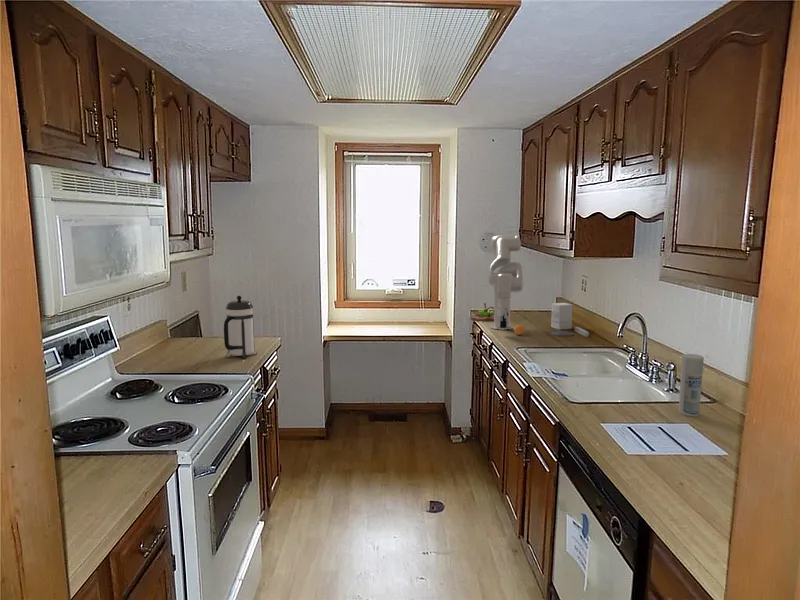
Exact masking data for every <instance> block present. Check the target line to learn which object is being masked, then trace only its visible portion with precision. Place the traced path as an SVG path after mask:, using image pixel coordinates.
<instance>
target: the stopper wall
mask: <svg viewBox="0 0 800 600" xmlns="http://www.w3.org/2000/svg"><path fill="white" fill-rule="evenodd" d="M574 332H576V333H578V334H580V335H582V336H583V337H585V338H586V337H589V335H590V334H589V331H587V330H586V329H583V328H581V327H579V326H574Z"/></svg>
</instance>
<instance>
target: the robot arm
mask: <svg viewBox="0 0 800 600" xmlns="http://www.w3.org/2000/svg"><path fill="white" fill-rule="evenodd" d="M490 243H491V250H492V253H493V255H494V258H495V260H493V261H492V262H491V264H490V265H489V267H488V283H489V285H491V286H493V295H494V296H493V297H494V300H493V301H494V302H493V303H494V304H493V305H494V306H493V307H494V309H493V314H494V322H493V324H492V325H491V329H493V330H497V329H499V331H505V330H507V329H509V330H512V329H513V325H511V298H512V297H511V295H512V294H511V293H521V292H522V290H523V287H524V286H523V285H524V280H523V266H522V264H521V263H520V262H516V261H511V257H512V256H511V255H512V254H511V252H519V251H520V250H521V247H522V242H521V238H520V236H519V235H517V234H501V235H498V234H497V235H495V236H492V238H491V242H490ZM494 271H495V272H494Z"/></svg>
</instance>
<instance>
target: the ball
mask: <svg viewBox="0 0 800 600" xmlns="http://www.w3.org/2000/svg"><path fill="white" fill-rule="evenodd" d="M513 331H514V334H516V335H518V336H521V335H523V334H524V333H525V331H526V329H525V326H524V325H522V324H517V325H515V326H514V329H513Z"/></svg>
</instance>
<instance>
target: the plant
mask: <svg viewBox="0 0 800 600" xmlns="http://www.w3.org/2000/svg"><path fill="white" fill-rule="evenodd" d="M483 306H484V309H482V310H477V311H478V312H479V313H474V314H472V315H471V317H470V320H471V321H472V322H473V321H474V322H477V323H478V322H479V321H494V306H489V307H488V308H487V304H486V302H484V303H483ZM489 309H492V311H491V310H489ZM479 323H480V322H479Z"/></svg>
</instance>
